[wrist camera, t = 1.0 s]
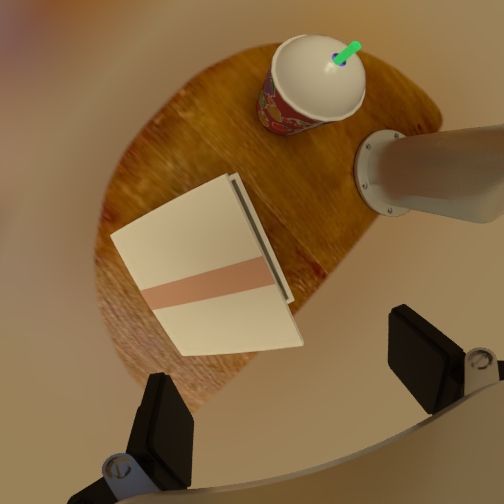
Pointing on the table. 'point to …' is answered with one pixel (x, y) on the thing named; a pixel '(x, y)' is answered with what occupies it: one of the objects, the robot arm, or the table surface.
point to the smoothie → (311, 84)
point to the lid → (207, 274)
